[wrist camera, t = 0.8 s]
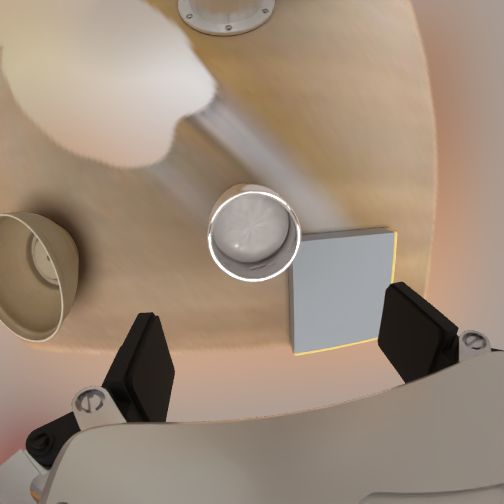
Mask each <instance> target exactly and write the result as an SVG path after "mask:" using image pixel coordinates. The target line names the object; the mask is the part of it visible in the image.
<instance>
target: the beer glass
mask: <svg viewBox="0 0 504 504" xmlns="http://www.w3.org/2000/svg"><path fill="white" fill-rule="evenodd" d="M207 244H208V249H209V252H210V255H211V257H212V259H213V260H214V262H215V263H216V265H217V266H218V267H219V268H220V269H221V270H222V271H223V272H224V273H225V274H227V275H228V276H230V277H232V278H234V279H237V280H240V281H244V282H263V281H267V280H270V279H273V278H275V277H277V276H278V275H280V274H282V273H283V272H284V271H285V270H286V269H287V268H288V267H289V266H290V265H291V264H292V263H293V261H294V260H295V258H296V256H297V254H298V252H299V249H300V245H301V226H300V222H299V220H298V217H297V215H296V213H295V212H294V210H293V209H292V207H291V206H290V205H289V204H288V203H287V202H286V201H285V200H284V199H283V198H282V197H281V196H280V195H279V194H277V193H276V192H275V191H273V190H271V189H270V188H267V187H265V186H262V185H257V184H248V183H240V184H236V185H233V186H232V187H230V188H229V189H227V190H226V191H225V192H224V193H223V194H222V195H221V196H220V197H219V199H218V200H217V201H216V203H215V204H214V206H213V208H212V210H211V212H210V216H209V220H208V231H207Z"/></svg>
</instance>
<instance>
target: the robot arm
mask: <svg viewBox="0 0 504 504" xmlns="http://www.w3.org/2000/svg"><path fill="white" fill-rule="evenodd" d="M274 5H275V0H178V10H179V13H180V16H181V17H182V19H183V20H184V22H185V23H186V24H188V25H189V26H190V27H192V28H193V29H195V30H197V31H200V32H202V33H206V34H210V35H218V36H229V35H237V34H242V33H245V32H248V31H251V30H253V29H255V28H257V27H259V26H260V25H262V24H263V23H264V22H265V21H266V20H267V19H268V18H269V17H270V15H271V14H272V12H273V9H274ZM457 331H458V327H457V326H456V325H455V324H454V323H452V322H451V321H450V320H449V319H448V318H447V317H445V316H444V315H443V314H442V313H441V312H439V311H438V310H437V309H435V307H433V306H432V305H431V304H430V303H428V302H427V301H426V300H425V299H424V298H422V297H421V296H420V295H419V294H417V293H416V292H415V291H414V290H412V289H411V288H410V287H409V286H407V285H406V284H405V283H404V282H397V283H392V284H390V285H389V287H388V288H386V291H385V297H384V305H383V311H382V318H381V324H380V329H379V335H378V345H379V347H380V349H381V350H382V351H383V352H384V354H385V355H386V357H387V358H388V360H389V361H390V362H391V364H392V365H393V366H394V368H395V369H396V370H397V372H398V373H399V375H400V376H401V378H402V379H403V380H404V382H405V384H403V385H400V386H397V387H394V388H391V389H387V390H384V391H381V392H378V393H374V394H371V395H368V396H364V397H360V398H357V399H353V400H349V401H345V402H341V403H337V404H332V405H328V406H323V407H319V408H314V409H308V410H303V411H297V412H292V413H285V414H279V415H272V416H264V417H256V418H247V419H237V420H223V421H203V422H166V417H167V411H168V406H169V401H170V395H171V390H172V385H173V380H174V375H175V371H174V366H173V363H172V359H171V356H170V353H169V350H168V346H167V343H166V340H165V336H164V333H163V329H162V326H161V322H160V319H159V316H155V315H154V313H153V312H150V313H139V314H138V316H137V318H136V319H135V321H134V323H133V325H132V327H131V329H130V331H129V333H128V335H127V337H126V339H125V341H124V343H123V345H122V346H121V347H120V349H119V351H118V353H117V355H116V357H115V359H114V361H113V363H112V365H111V367H110V369H109V371H108V373H107V375H106V378H105V380H104V382H103V384H102V386H101V387H98V386H90V387H87V388H84V389H82V390H80V391H79V392H78V393H77V394H76V395H75V396H74V398H73V400H72V410H73V411H72V412H70V413H68V414H66V415H64V416H62V417H60V418H58V419H56V420H54V421H52V422H50V423H48V424H46V425H44V426H42V427H40V428H37V429H36V430H34V431H32V432H31V434H30V435H29V436H28V438H27V440H26V450H25V451H23V450H22V449H20V450H19V451H18V452H16V453H15V454H14V455H13V456H12V457H11V458H9V459H8V460H7V461H6V462H5V463H3V464H2V465H1V466H0V504H504V351H503V350H498V349H493V348H491V346H490V342H489V339H488V338H487V337H486V336H485V335H484V334H482V333H480V332H478V331H474V330H467V331H464V332H462V333H461V334H460V336H459V337H458V335H457Z"/></svg>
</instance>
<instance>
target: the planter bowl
mask: <svg viewBox="0 0 504 504" xmlns="http://www.w3.org/2000/svg"><path fill="white" fill-rule="evenodd" d="M48 256H49V258H50V260H49V259H48ZM78 268H79V255H78V250H77V247H76V244H75V242H74V240H73V238H72V237H71V236H70V234H69V233H68V232H67V231H66V230H65V229H64V228H62V227H61V226H59V225H57V224H56V223H54V222H53V221H51V220H50V219H48V218H46V217H44V216H41V215H38V214H35V213H30V212H13V213H2V214H0V322H1V323H2V324H3V325H4V326H5V327H6V328H7V329H8V330H10V331H11V332H12V333H14V334H15V335H17V336H18V337H20V338H22V339H24V340H27V341H31V342H43V341H46V340H49V339H50V338H52V337H53V336H54V335H55V334H56V333H57V331H58V330H59V329H60V327H61V325H62V323H63V321H64V319H65V318H66V316H67V315H68V313H69V311H70V309H71V307H72V304H73V302H74V299H75V295H76V291H77V286H78Z"/></svg>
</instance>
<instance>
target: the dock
mask: <svg viewBox="0 0 504 504" xmlns="http://www.w3.org/2000/svg"><path fill="white" fill-rule="evenodd" d="M396 244H397V231H395V230H392V229H390V228H372V229H361V230H349V231H338V232H327V233H316V234H306V235H301V245H300V249H299V252H298V254H297V256H296V258H295V260H294V261H293V263H292V264H291V265H290V266H289V267H288V275H289V304H290V342H291V348H292V351H293V354H294V356H296V355H302V354H309V353H314V352H320V351H325V350H331V349H336V348H341V347H345V346H350V345H355V344H359V343H363V342H368V341H372V340H376V339H378V335H379V329H380V324H381V318H382V311H383V305H384V297H385V291H386V288H388V287H389V285H390V284H392V283H393V279H394V269H395V258H396Z"/></svg>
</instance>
